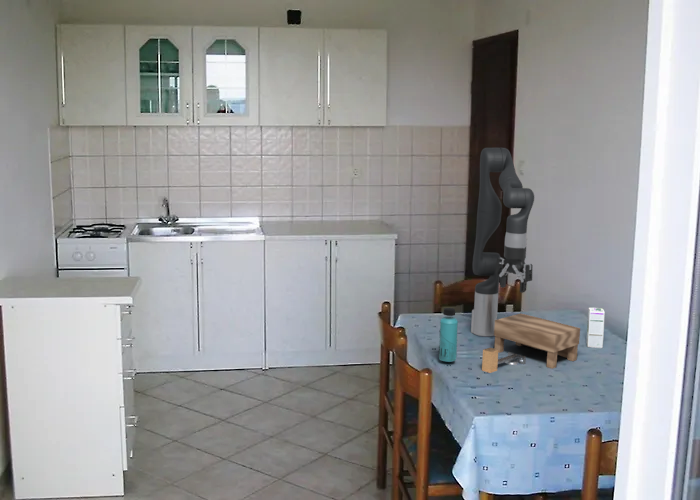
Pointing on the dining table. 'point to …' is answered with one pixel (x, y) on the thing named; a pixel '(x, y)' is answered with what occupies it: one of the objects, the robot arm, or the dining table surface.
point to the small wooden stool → (538, 336)
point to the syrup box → (595, 327)
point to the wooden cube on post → (492, 361)
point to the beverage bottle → (448, 336)
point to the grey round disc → (512, 362)
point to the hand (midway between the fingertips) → (512, 289)
